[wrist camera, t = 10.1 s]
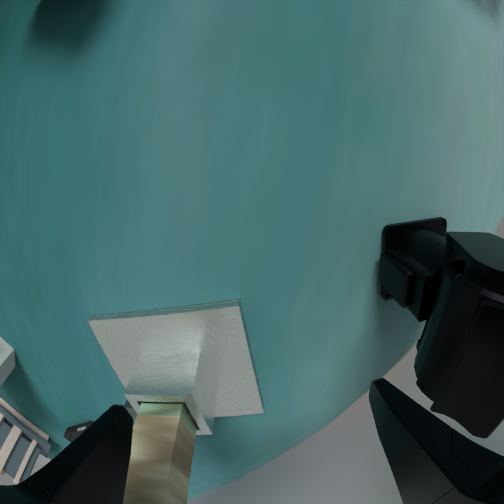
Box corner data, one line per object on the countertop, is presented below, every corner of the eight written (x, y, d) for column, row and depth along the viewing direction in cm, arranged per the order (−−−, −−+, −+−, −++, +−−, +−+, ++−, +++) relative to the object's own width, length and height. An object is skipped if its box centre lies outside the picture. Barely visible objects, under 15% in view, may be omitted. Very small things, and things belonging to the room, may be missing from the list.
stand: (239, 299, 21) (236, 353, 15) (263, 406, 26) (266, 454, 20) (92, 314, 22) (60, 357, 16) (146, 409, 27) (133, 451, 21)
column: (182, 404, 18) (161, 514, 9) (196, 428, 19) (183, 526, 10) (141, 403, 18) (110, 503, 9) (158, 427, 19) (137, 517, 10)
